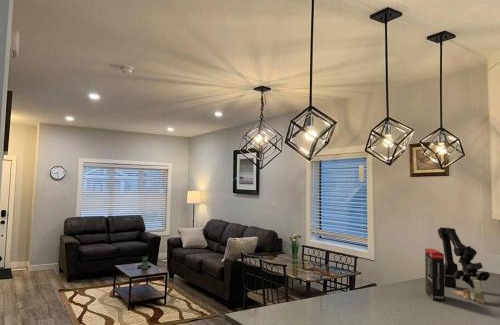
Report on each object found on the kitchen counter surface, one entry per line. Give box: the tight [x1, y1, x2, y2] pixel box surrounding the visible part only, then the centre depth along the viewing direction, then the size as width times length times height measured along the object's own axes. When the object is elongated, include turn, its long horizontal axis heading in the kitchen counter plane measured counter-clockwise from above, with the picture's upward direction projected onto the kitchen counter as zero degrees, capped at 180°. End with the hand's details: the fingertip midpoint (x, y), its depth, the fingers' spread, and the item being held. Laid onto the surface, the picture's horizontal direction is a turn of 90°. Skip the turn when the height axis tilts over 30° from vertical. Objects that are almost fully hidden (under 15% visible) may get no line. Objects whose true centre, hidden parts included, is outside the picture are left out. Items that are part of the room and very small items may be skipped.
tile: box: [451, 290, 464, 296], centre depth 228 cm, size 9×9×1 cm
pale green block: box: [470, 278, 482, 301], centre depth 213 cm, size 4×4×11 cm
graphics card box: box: [424, 248, 446, 302], centre depth 218 cm, size 17×7×27 cm, turn 168°
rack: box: [461, 288, 485, 304], centre depth 215 cm, size 13×8×5 cm, turn 176°
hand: (477, 288), depth 212 cm, fingers closed on pale green block, 3 cm apart
